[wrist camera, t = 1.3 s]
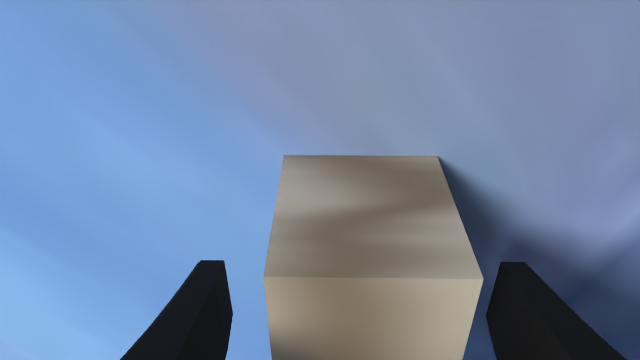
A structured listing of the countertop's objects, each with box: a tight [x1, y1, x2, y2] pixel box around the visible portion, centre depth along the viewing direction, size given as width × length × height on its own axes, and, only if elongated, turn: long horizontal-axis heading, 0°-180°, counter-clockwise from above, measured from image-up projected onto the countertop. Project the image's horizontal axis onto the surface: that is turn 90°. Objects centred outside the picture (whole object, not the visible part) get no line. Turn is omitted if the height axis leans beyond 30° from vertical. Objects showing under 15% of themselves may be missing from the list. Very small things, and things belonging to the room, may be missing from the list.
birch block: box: [263, 155, 484, 360], centre depth 13 cm, size 4×4×5 cm
